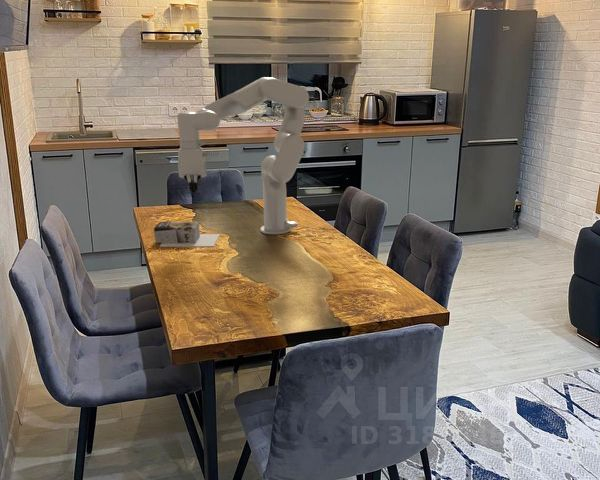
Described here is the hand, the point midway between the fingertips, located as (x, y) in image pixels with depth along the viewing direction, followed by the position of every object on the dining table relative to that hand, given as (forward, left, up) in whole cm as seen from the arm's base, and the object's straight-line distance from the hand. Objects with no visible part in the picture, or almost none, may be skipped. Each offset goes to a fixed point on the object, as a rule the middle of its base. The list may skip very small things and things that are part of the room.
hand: (194, 191), depth 231 cm
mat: (+2, 0, -20) cm, 20 cm away
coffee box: (-1, 0, -16) cm, 16 cm away
